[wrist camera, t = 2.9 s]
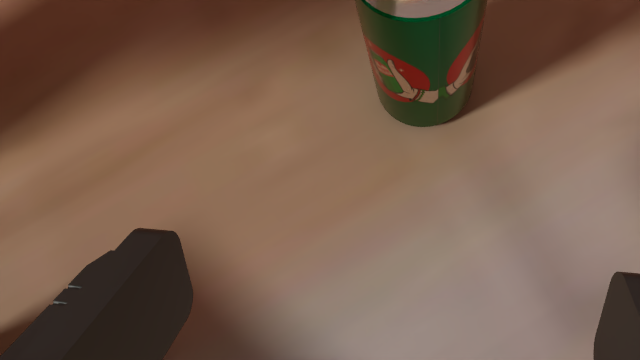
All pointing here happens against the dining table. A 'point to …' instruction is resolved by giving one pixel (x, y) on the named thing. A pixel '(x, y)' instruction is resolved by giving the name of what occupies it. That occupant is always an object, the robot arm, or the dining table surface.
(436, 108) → the soda can
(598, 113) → the dining table surface
